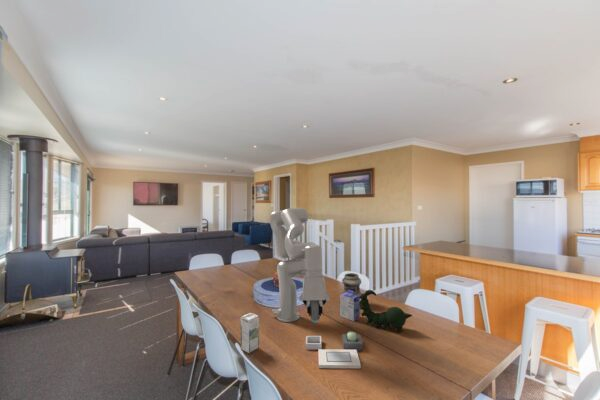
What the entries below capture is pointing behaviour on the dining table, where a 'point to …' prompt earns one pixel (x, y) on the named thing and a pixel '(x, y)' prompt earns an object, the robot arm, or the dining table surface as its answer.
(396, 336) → the dining table surface
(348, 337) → the button
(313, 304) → the marker
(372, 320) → the toy figurine
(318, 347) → the marker holder
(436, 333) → the dining table surface
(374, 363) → the dining table surface
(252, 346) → the syrup box
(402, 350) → the dining table surface
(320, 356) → the picture board
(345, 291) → the apothecary jar
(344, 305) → the ink cartridge box
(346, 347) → the button housing
